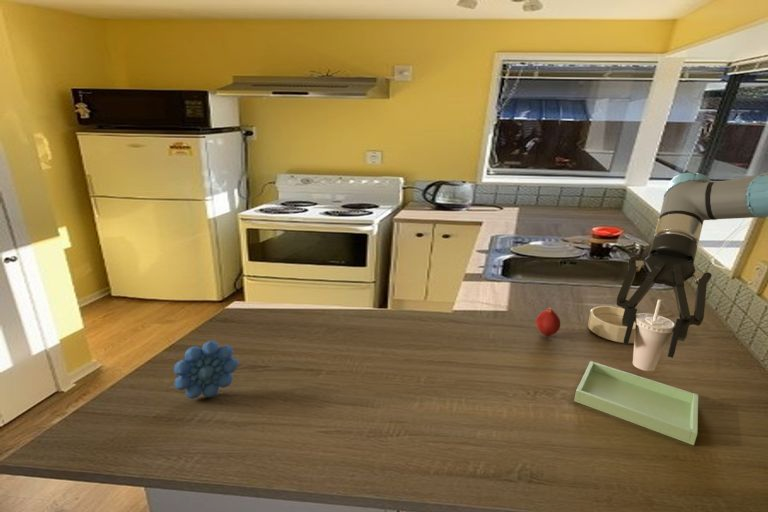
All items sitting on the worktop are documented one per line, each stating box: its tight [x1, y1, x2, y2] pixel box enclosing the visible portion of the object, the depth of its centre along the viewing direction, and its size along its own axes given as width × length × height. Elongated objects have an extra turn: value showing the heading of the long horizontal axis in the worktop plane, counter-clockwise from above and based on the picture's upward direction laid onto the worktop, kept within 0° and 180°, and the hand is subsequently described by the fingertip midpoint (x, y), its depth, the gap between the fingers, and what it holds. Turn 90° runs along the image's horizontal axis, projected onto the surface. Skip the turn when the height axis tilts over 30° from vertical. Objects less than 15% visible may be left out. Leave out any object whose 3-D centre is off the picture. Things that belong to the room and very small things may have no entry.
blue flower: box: [173, 340, 239, 400], centre depth 81 cm, size 12×7×12 cm, turn 106°
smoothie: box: [632, 298, 675, 372], centre depth 79 cm, size 6×6×14 cm
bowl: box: [587, 305, 638, 344], centre depth 112 cm, size 13×13×4 cm
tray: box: [573, 360, 699, 446], centre depth 83 cm, size 20×14×2 cm
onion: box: [535, 307, 561, 338], centre depth 108 cm, size 6×6×8 cm
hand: (648, 348), depth 77 cm, fingers closed on smoothie, 6 cm apart
